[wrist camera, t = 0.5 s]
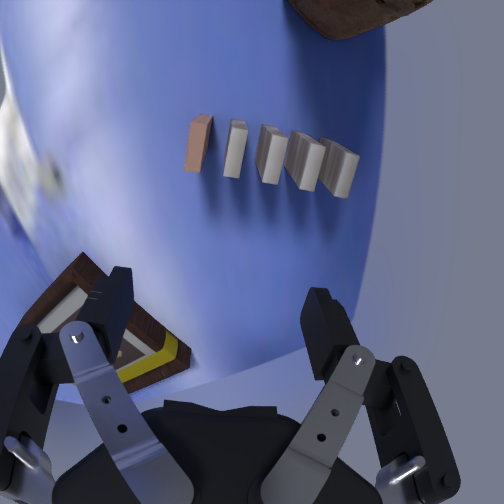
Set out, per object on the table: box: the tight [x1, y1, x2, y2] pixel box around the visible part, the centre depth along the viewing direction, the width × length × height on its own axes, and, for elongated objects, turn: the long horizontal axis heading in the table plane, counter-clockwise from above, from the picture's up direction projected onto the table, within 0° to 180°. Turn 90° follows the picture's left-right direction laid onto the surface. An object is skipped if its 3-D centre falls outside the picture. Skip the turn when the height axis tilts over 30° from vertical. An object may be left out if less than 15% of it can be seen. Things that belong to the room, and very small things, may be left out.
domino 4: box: [318, 137, 360, 199], centre depth 34 cm, size 2×5×10 cm, turn 169°
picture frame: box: [16, 252, 191, 394], centre depth 51 cm, size 28×7×30 cm
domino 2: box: [223, 119, 248, 178], centre depth 33 cm, size 2×5×10 cm, turn 169°
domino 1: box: [184, 114, 213, 173], centre depth 32 cm, size 2×5×10 cm, turn 169°
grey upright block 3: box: [255, 124, 289, 185], centre depth 33 cm, size 2×5×10 cm, turn 169°
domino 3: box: [284, 130, 326, 192], centre depth 34 cm, size 2×5×10 cm, turn 169°
